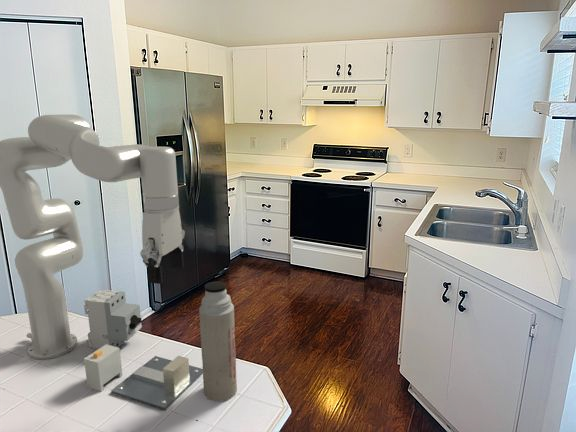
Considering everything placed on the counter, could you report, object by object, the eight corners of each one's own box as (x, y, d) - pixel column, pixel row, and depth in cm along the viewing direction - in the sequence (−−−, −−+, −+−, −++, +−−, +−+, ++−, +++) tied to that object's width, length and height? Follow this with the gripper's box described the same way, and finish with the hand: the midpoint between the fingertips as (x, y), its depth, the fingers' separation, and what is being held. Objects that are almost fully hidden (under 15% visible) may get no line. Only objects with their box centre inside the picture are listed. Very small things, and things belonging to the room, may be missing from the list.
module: (87, 387, 105) (83, 354, 103) (109, 371, 111) (105, 340, 109) (101, 391, 103) (97, 359, 101) (122, 375, 109) (119, 344, 107)
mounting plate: (111, 393, 102) (108, 368, 101) (155, 358, 117) (153, 336, 115) (164, 410, 96) (162, 384, 95) (204, 371, 111) (203, 348, 109)
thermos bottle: (242, 384, 106) (239, 280, 99) (227, 405, 98) (222, 294, 91) (214, 378, 108) (209, 276, 101) (197, 397, 101) (190, 289, 94)
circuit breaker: (134, 353, 119) (129, 304, 116) (89, 347, 122) (83, 300, 118) (147, 339, 126) (143, 293, 123) (105, 334, 129) (100, 289, 125)
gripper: (166, 194, 103) (171, 261, 107) (122, 210, 87) (130, 287, 91) (194, 196, 101) (198, 263, 105) (155, 212, 85) (161, 291, 89)
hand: (167, 274), depth 98 cm, fingers open, 9 cm apart
